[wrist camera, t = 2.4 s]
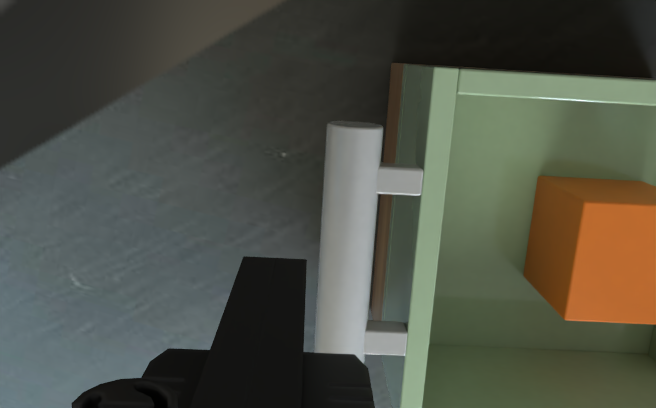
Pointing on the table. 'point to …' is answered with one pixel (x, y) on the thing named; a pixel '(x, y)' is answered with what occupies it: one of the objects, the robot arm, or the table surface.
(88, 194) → the table surface
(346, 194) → the green open box
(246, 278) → the robot arm
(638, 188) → the block
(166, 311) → the table surface
